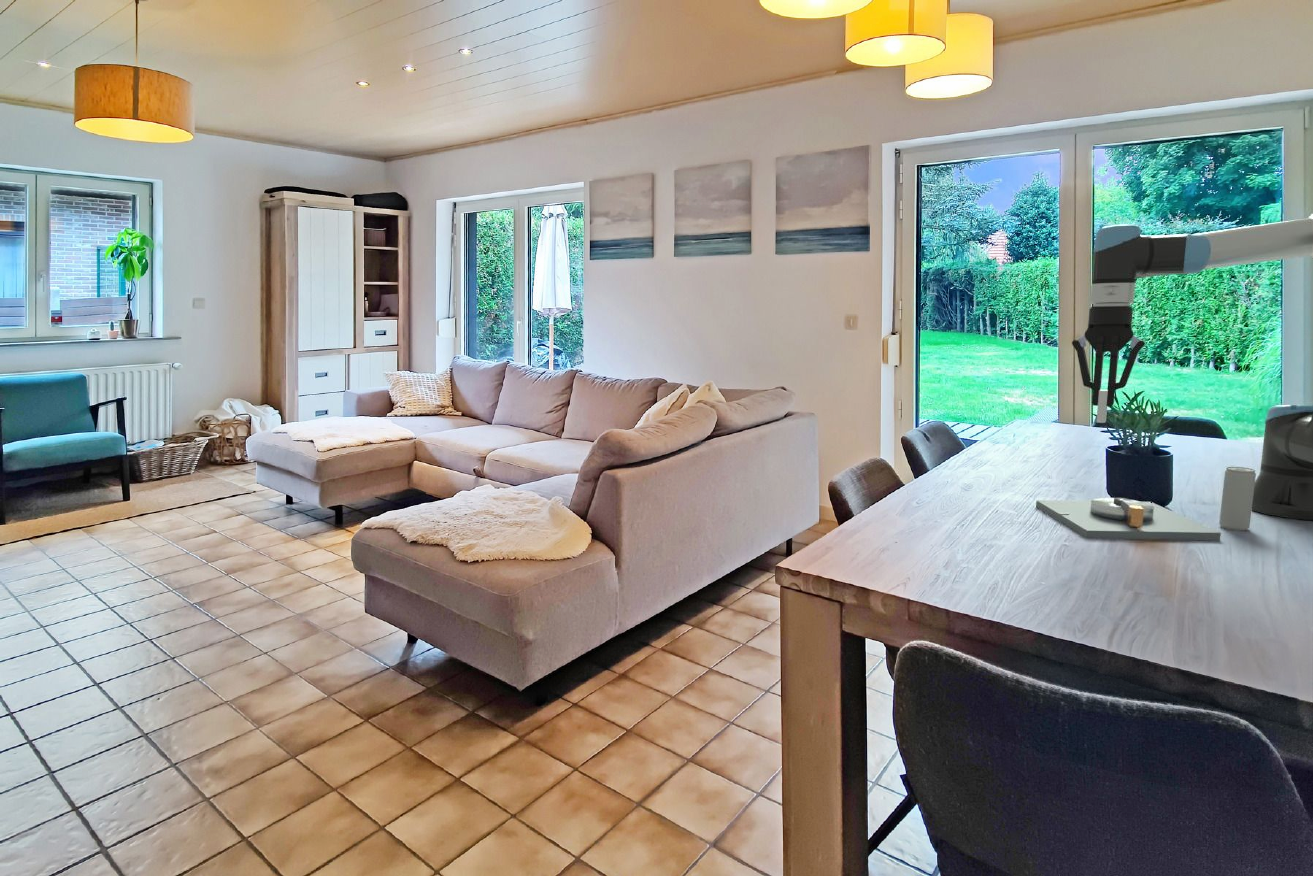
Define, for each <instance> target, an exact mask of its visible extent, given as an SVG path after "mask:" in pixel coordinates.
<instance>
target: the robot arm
mask: <svg viewBox="0 0 1313 876" xmlns="http://www.w3.org/2000/svg"><path fill="white" fill-rule="evenodd" d="M1094 241H1095V242H1094V248H1093V252H1092V253H1093V259H1092V260H1093V261H1092V262H1093V263H1092V279H1091V280H1092V281H1091V287H1090V298H1089V299H1090V300H1089V303H1090V305H1092V306H1091V307H1090V308H1089V310H1088V323H1087V329H1086V330H1085V332H1084V335H1083V336H1081V337H1079V338H1077V339H1075V340H1072V342H1071V345H1072V346H1073V349H1074V350H1075V351H1076V354H1077V358H1078V364H1079V370H1080V375H1081V380H1082V384H1083V386H1084V387H1086V388H1089V389H1091V391H1092V396H1091V398H1092V399H1091V405H1092V406H1096V407H1097V409H1096V410H1097V412H1096V421H1095V422H1096V423H1099V424H1105V423H1106V422H1107V413H1108V407H1113V406H1114V404H1115V395H1116V394H1115V395H1114V393H1116V391H1117V390H1119V389H1123V388H1125V387H1126V386H1127V383H1128V381H1129V378H1130V375H1131V373H1132V370H1133V368H1134V365H1135V362H1136V360H1137V357H1138V354H1139V352H1140V351H1141V350H1142V348H1143V347H1144V346H1146V341H1145V340H1144V339H1143V340H1142V339H1140V338H1138V337H1137V336H1135V332H1134V331H1133V329H1132V325H1133V322H1132V321H1133V312H1134V308H1133V307H1132V306H1131V304H1133V303H1134V301H1135V291H1136V290H1135V289H1136V281H1137V279H1145V278H1149V277H1157V276H1158V277H1159V276H1167V275H1184V276H1185V275H1189V274H1191V275H1192V274H1199V273H1201V272H1202V271H1204V270H1209V269H1211V270H1212V269H1216V268H1225V267H1233V266H1240V265H1241V266H1242V265H1249V264H1256V263H1264V262H1271V261H1280V260H1281V261H1282V260H1287V259H1294V258H1302V257H1310V258H1311V259H1313V213H1312V214H1311V215H1310V216H1309V217H1307V218H1306V217H1305V218H1300V219H1293V220H1285V221H1278V222H1277V221H1276V222H1273V223H1272V222H1270V223H1265V224H1258V225H1250V226H1242V227H1236V228H1229V229H1222V230H1214V231H1208V232H1201V233H1200V232H1199V233H1193V234H1191V233H1185V234H1184V233H1183V234H1166V235H1165V234H1163V235H1161V234H1160V235H1144V234H1143V235H1142V232H1141V228H1140V226H1139V225H1137V224H1116V225H1115V224H1114V225H1109V226H1108V225H1107V226H1103V227H1101V228H1099V229H1098V230H1097V232H1096V236H1095V240H1094ZM1087 342H1088V343H1089V345H1090V346H1091V347H1092V349H1093V350H1094V351H1095V358H1094V359H1095V360H1094V371H1093V381H1092V380H1091V376H1090V375H1091V374H1090V370H1089V364H1088V358H1087V354H1086V349H1085V347H1086V346H1087ZM1129 342H1131V343H1130V345H1129V346H1130V348H1131V350H1130V353H1129V354H1128V358H1127V360H1126V363H1125V366H1124V368H1123V371H1122V373H1121V376H1120V379H1119V381H1118V382H1117V375H1118V366H1119V365H1118V364H1119V363H1118V362H1119V354H1120V353H1119V352H1120V351H1121V350H1122V349H1123V348H1124V347H1125V346H1127V344H1128V343H1129ZM1105 352H1108V353H1109V352H1110V353H1109V367H1108V376H1107V377H1108V381H1107V389H1101V388H1102V377H1103V367H1104V358H1105V357H1104V356H1105ZM1263 435H1264V436H1263V445H1262V453H1261V454H1262V455H1261V462H1260V470H1259V473H1258V476H1257V478H1255V486H1254V494H1253V502H1252V510H1251V511H1255V512H1257V513H1261V514H1264V515H1270V516H1276V517H1281V518H1287V519H1288V518H1289V519H1296V520H1308V521H1309V520H1310V521H1311V520H1313V404H1278V405H1277V404H1276V405H1272V406H1270V408H1268V411H1267V415H1266V418H1265V420H1264V434H1263Z"/></svg>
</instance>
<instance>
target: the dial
mask: <svg viewBox="0 0 1313 876" xmlns="http://www.w3.org/2000/svg"><path fill="white" fill-rule="evenodd" d="M1090 501H1091V508H1090V511H1091V512H1092V513H1093V514H1096V515H1098V516H1102V517H1106V518H1111V519H1117V520H1124V521H1125V522H1126V523H1127V524H1128V525H1129V526H1132V527H1142V523H1143V521H1146V520H1151V519H1152V518H1153V513H1154V507H1153V506H1152V505H1150V504H1147V503H1144V502H1145V501H1139V500H1135V499H1130V498H1126V497H1099V498H1094V499H1093V498H1092V500H1090Z"/></svg>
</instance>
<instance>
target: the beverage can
mask: <svg viewBox="0 0 1313 876" xmlns="http://www.w3.org/2000/svg"><path fill="white" fill-rule="evenodd" d="M1225 468H1226V469H1225V471H1224V478H1223V487H1222V496H1221V504H1220V505H1221V506H1220V513H1219V522H1218V524H1219V526H1220V527H1221V528H1223V529H1225V530H1228V531H1229V530H1230V531H1236V532H1237V531H1240V532H1241V531H1242V532H1243V531H1244V530H1245V531H1247V530H1249V529H1250V525H1251V519H1252V511H1253V510H1252V502H1253V494H1254V486H1255V481H1256V476H1257V474H1256V469H1254V468H1249V467H1244V466H1226V467H1225Z"/></svg>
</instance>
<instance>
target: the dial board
mask: <svg viewBox="0 0 1313 876" xmlns="http://www.w3.org/2000/svg"><path fill="white" fill-rule="evenodd" d="M1035 502H1036V503H1035V507H1036V508H1037V509H1038V510H1041V511H1042V512H1043V513H1045V514H1047V515H1048V516H1050V517H1052V518H1054V519H1055V520H1056V521H1058V522H1060V523H1061V524H1063V525H1065V526H1066V527H1068V528H1069V529H1071V530H1073V531H1074V532H1075V533H1077V534H1079V535H1080V536H1083V537H1084V538H1085V539H1108V540H1109V539H1110V540H1111V539H1113V540H1115V539H1117V540H1119V539H1121V540H1125V539H1126V540H1164V541H1165V540H1171V541H1172V540H1173V541H1178V540H1180V541H1221V534H1222V533H1221V532H1220V531H1217V530H1216V529H1213V528H1211V527H1208V526H1207V525H1204V524H1202V523H1199V522H1197V521H1195V520H1193V519H1191V518H1189V517H1186V516H1184V515H1181V514H1179V513H1177V512H1175V511H1172V510H1170V509H1169V508H1166V507H1163V506H1161V505H1159V504H1156V503H1154V502H1152V501H1143V502H1144V503H1147V504H1150V505H1152V506H1153V507H1154V513H1153V518H1152V519H1151V520H1146V521H1143V523H1142V527H1132V526H1129V525H1128V524H1127V523H1126V522H1125V521H1124V520H1117V519H1111V518H1106V517H1102V516H1098V515H1096V514H1093V513H1092V512H1091V511H1090V508H1091V500H1053V499H1052V500H1051V499H1050V500H1049V499H1047V500H1045V499H1044V500H1043V499H1042V500H1040V499H1038V500H1037V499H1036V501H1035ZM1151 502H1152V503H1151Z"/></svg>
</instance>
